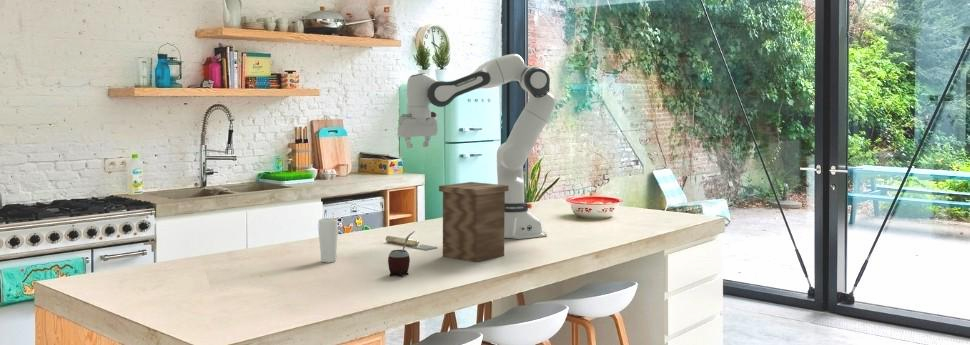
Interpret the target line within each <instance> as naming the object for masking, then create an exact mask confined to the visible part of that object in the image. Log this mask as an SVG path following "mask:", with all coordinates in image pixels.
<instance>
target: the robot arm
mask: <svg viewBox="0 0 970 345" xmlns="http://www.w3.org/2000/svg"><path fill="white" fill-rule="evenodd" d="M524 60H525V59H523V58H522V56H521V55H519V54H518V53H511V54H504V55H502V56H499V57H495V58H492V59H490V60H488V61H486V62H484V63H483V64H481V65H479V66H478V67H477V68H476V69H475V70H474V71H473V72H471V73H470V74H467V75H465V76H463V77H460V78H457V79H455V80H451V81H445V80H444V81H442V80H437V79H435V78H433V77H431V76H429V75H428V74H427V73H425V72H424V73H416V74H412V75H410V76H409V78H407V85H406V98H407V104H406V113H402V114H401V115H400V116H399V117H398V118H399V119H398V125H397V136H398V137H399V138H404V141H405V143H406V148H407V149H413V143H412V142H411V140H412V139H411V138H415V137H424V142H422V147H423V148H429V143H430V140H431V136H432V137H434V136H436V135H437V134H438V127H439V126H438V119H437V118H438V112H436V111H433V110H431V109H429V108H430V107H429V106H430V104H431V105H433V106H435V107H438V108H439V107H440V108H444V107H447V106H448V105H450V104H451V103H452V102H453V101H454V99H456V98H457V97H459V96H461V95H464V94H467V93H469V92H472V91H475V90H479V89H490V88H495V87H499V86H502V85H504V84H508V83H510V82H516V83H517V84H518V86H519V88H520V89H522V90H523V91H524V92H526V93H528V95H529V98H528V101H527V103H526V104H525V106H524V108H523V110H521V112H520V115H519V116H518V118H517V119H516V121H515V123H514V124H513V127H512V129H511V131H510V134H509V136H508V137H507V139H506V141H505V142H504V143H501V145H499V147H498V148H497V151H496V175H497V184H498V185H508V186H509V191H505V216H504V239H514V240H523V239H533V238H542V237H547V236H548V232H546V231H544V230H543V227H542V223H541V221H540V219H539V218H538V217H536V216H535V215H534V214H533V213H531V212H530V211H529V209H532V203H530V202H529V203H526V202H525V179H524V166H525V163H526V161H527V160H528V158H529V156H530V154H531V152H532V151H533V148H534V146H535V144H536V142H537V140H538V138H539V136H540V135H541V132H543V129H544V127H545V126H546V124H547V122H548V121H549V119H550V117H551V114H552V113H553V111H554V108H555V105H556V99H555V97H554V95H553V94H552V93H551V92H550V89H551V88H550V84H551V78H550V74H549V73H548V71H547V70H546V69H545V68H543V67H541V66H536V65H534V66H533V65H531V66H529V65H527V64H525V61H524Z"/></svg>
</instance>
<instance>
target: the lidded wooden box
mask: <svg viewBox="0 0 970 345" xmlns="http://www.w3.org/2000/svg"><path fill="white" fill-rule="evenodd" d="M505 191H509V186H508V185H498V183H497V184H494V183H487V182H474V181H467V182H460V183H451V184H444V185H443V184H442V185H438V192H440V193H441V192H442V257H444V258H449V259H457V260H463V261H467V262H473V263H478V262H483V261H487V260H491V259H496V258H500V257H505V238H504V216H505Z"/></svg>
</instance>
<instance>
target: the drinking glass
mask: <svg viewBox="0 0 970 345" xmlns="http://www.w3.org/2000/svg"><path fill="white" fill-rule="evenodd" d="M338 223H339V220H338V218H332V217H326V218H325V217H324V218H320V219H318V227H317V228H318V240H319V252H320V262H322V263H324V262H325V263H335V262H336V261H337V248H338V246H337V245H338V235H339V233H338V232H339V224H338ZM325 263H324V264H325Z"/></svg>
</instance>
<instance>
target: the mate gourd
mask: <svg viewBox="0 0 970 345" xmlns="http://www.w3.org/2000/svg"><path fill="white" fill-rule="evenodd" d="M414 233H416V232H415V230H414V231H412V232H410V233H409V234H408V235H407V236H406V237H405V238H406V239H405V240H406V241H405V244H404V245H403V246H402V249H393V250H391V251H390V252H389V254H388V258H387V265H388V270H389V277H395V276H397V277H399V278H402V277H403V276H409V268H410V263H411V259H410V254H409V252H408V251H407V250H405V248H406V246H407V245H406V243H407V241H408V239H410V236H411V235H413V234H414Z"/></svg>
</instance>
